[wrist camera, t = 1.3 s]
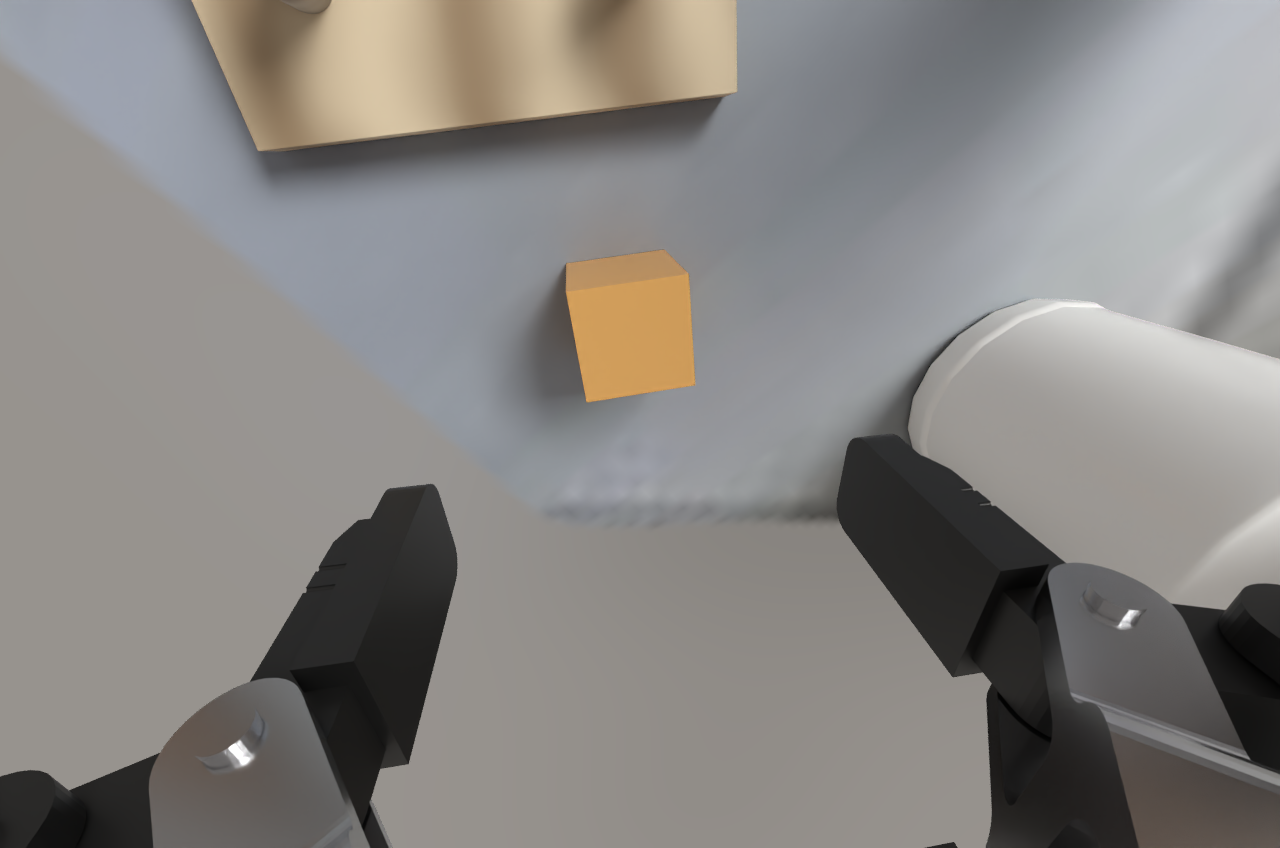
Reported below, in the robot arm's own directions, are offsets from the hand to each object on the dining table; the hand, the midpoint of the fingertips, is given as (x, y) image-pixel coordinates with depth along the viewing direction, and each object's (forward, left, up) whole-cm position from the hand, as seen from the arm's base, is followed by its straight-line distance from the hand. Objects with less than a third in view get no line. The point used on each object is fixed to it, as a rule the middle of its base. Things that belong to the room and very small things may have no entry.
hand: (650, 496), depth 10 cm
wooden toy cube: (-1, +1, -19) cm, 19 cm away
